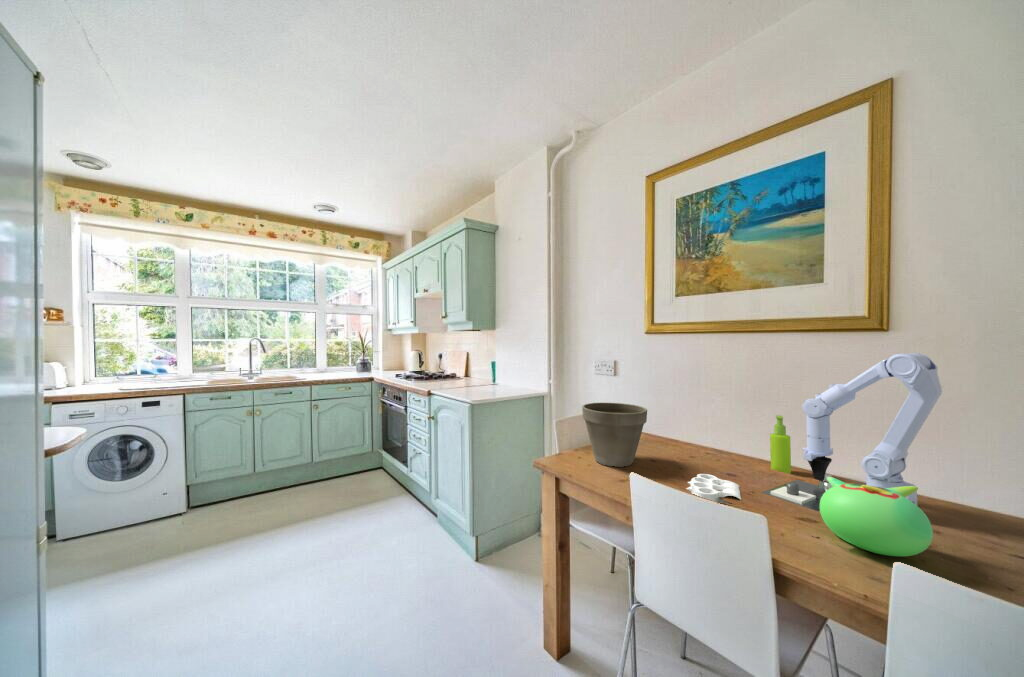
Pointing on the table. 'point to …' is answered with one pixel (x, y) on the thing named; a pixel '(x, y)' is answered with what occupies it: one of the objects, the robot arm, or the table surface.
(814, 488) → the panel
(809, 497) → the cover
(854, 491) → the toy bird
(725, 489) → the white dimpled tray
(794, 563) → the table surface
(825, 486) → the t key
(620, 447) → the plant pot
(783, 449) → the soap dispenser
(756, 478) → the table surface
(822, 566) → the table surface
